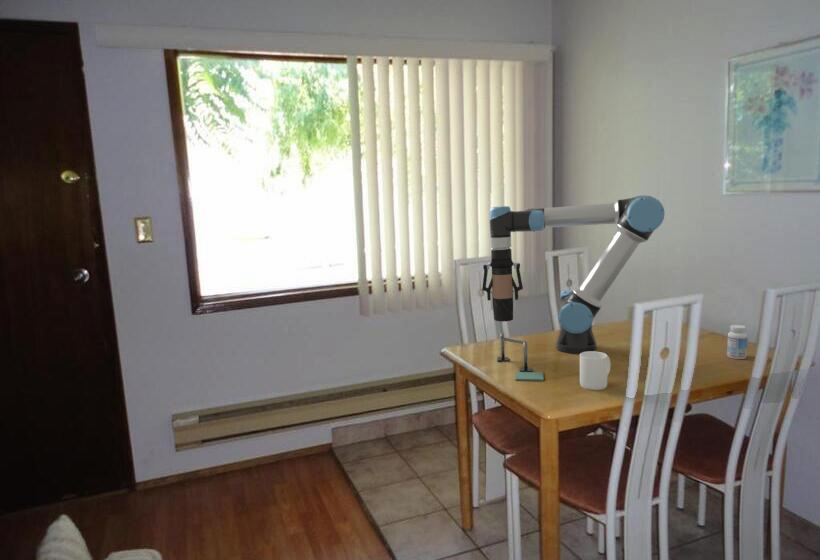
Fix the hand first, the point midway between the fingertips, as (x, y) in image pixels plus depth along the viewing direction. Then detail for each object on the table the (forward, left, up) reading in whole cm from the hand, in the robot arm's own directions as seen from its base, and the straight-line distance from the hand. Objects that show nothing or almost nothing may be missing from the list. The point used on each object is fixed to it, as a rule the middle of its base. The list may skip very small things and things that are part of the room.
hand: (503, 308), depth 210 cm
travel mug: (0, 0, -4) cm, 4 cm away
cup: (-30, +31, -19) cm, 47 cm away
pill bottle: (-82, 0, -19) cm, 84 cm away
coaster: (-9, +25, -18) cm, 32 cm away
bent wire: (-4, +12, -18) cm, 22 cm away
